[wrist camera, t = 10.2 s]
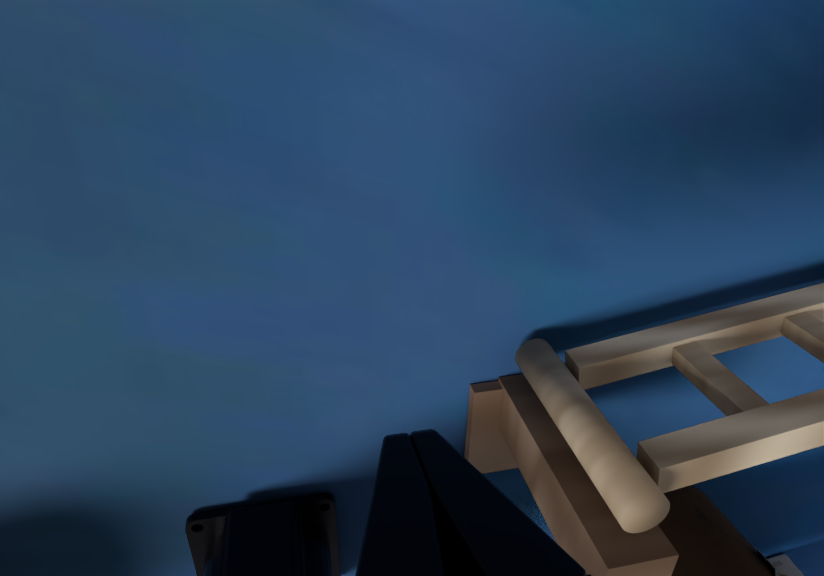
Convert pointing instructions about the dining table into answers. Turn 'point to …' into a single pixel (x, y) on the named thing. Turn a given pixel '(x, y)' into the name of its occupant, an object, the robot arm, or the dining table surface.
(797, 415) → the gate
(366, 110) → the dining table surface
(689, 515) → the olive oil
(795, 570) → the coffee box
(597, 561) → the hinge post
